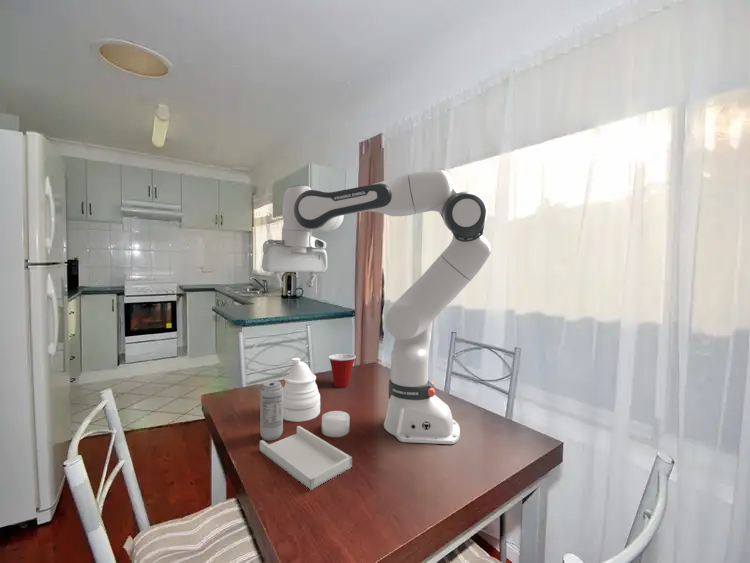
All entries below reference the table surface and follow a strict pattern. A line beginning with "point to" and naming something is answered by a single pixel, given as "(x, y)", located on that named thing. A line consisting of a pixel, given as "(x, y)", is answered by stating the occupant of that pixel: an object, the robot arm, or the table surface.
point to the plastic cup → (342, 369)
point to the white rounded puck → (335, 423)
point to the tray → (307, 458)
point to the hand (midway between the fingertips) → (295, 287)
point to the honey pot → (300, 394)
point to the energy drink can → (271, 410)
